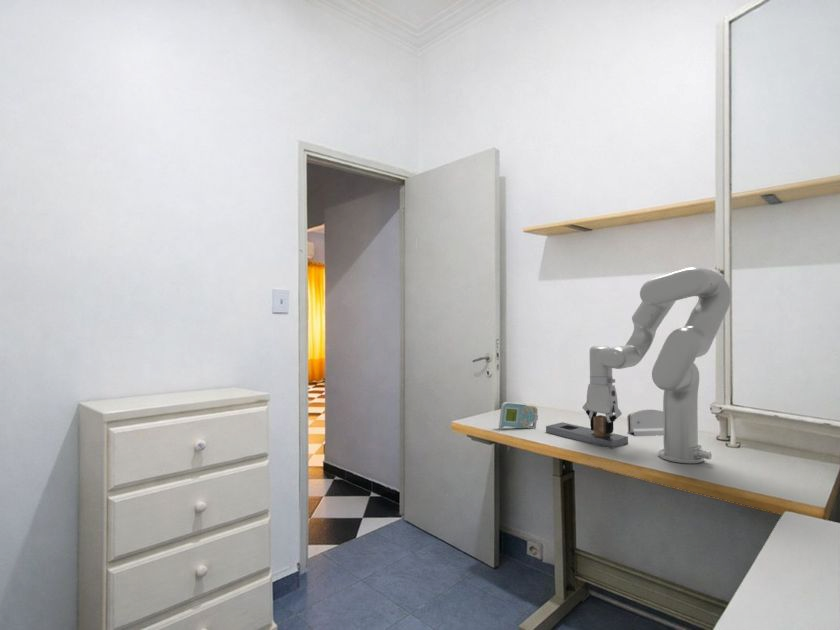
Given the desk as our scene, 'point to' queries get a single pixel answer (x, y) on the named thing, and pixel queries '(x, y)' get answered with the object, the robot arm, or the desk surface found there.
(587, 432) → the grey slotted board
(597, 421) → the walnut block
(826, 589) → the desk surface
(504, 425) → the handheld gaming console
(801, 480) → the desk surface
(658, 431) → the grey curved-top block
